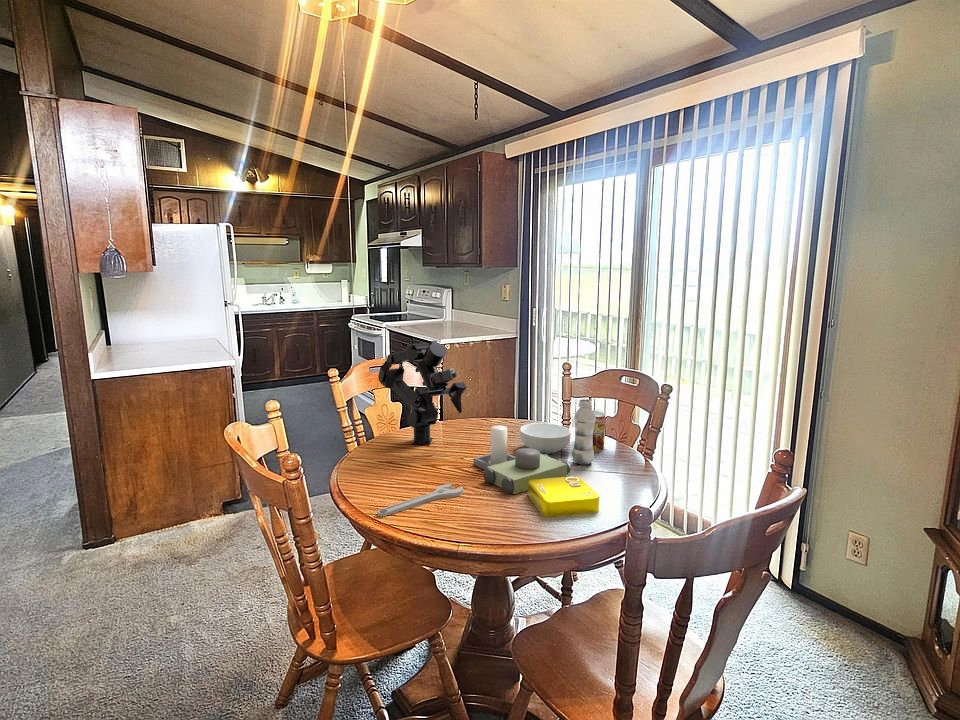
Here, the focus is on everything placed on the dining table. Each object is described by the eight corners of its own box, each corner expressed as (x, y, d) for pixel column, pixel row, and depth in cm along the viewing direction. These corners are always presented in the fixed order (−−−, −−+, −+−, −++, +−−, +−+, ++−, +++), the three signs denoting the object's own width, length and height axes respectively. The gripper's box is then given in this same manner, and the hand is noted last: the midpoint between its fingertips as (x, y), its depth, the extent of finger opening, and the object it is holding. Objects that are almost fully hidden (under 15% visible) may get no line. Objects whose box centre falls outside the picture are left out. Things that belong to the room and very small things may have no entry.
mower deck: (458, 468, 164) (458, 442, 163) (514, 453, 177) (515, 429, 176) (510, 495, 145) (511, 466, 143) (569, 476, 158) (570, 450, 156)
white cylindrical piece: (488, 461, 170) (488, 424, 168) (509, 462, 169) (509, 425, 167) (487, 469, 163) (488, 430, 161) (509, 469, 163) (509, 431, 161)
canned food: (601, 453, 178) (603, 417, 176) (577, 449, 181) (578, 415, 179) (605, 446, 185) (607, 411, 183) (582, 443, 188) (584, 409, 186)
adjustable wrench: (380, 520, 131) (380, 513, 131) (369, 510, 136) (369, 504, 136) (466, 495, 146) (466, 488, 145) (453, 487, 151) (453, 481, 150)
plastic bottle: (568, 460, 171) (570, 399, 167) (587, 458, 173) (589, 397, 169) (577, 468, 165) (580, 403, 161) (597, 465, 167) (600, 402, 163)
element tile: (525, 494, 146) (526, 477, 146) (578, 490, 150) (578, 473, 149) (544, 519, 132) (544, 500, 131) (601, 513, 135) (602, 495, 134)
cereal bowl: (558, 462, 170) (559, 440, 169) (510, 453, 178) (511, 432, 177) (577, 446, 184) (578, 426, 183) (532, 439, 192) (532, 419, 191)
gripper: (414, 363, 168) (433, 405, 162) (463, 357, 179) (483, 396, 173) (402, 383, 176) (420, 424, 169) (450, 377, 187) (469, 415, 180)
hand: (449, 414), depth 173 cm, fingers open, 9 cm apart
